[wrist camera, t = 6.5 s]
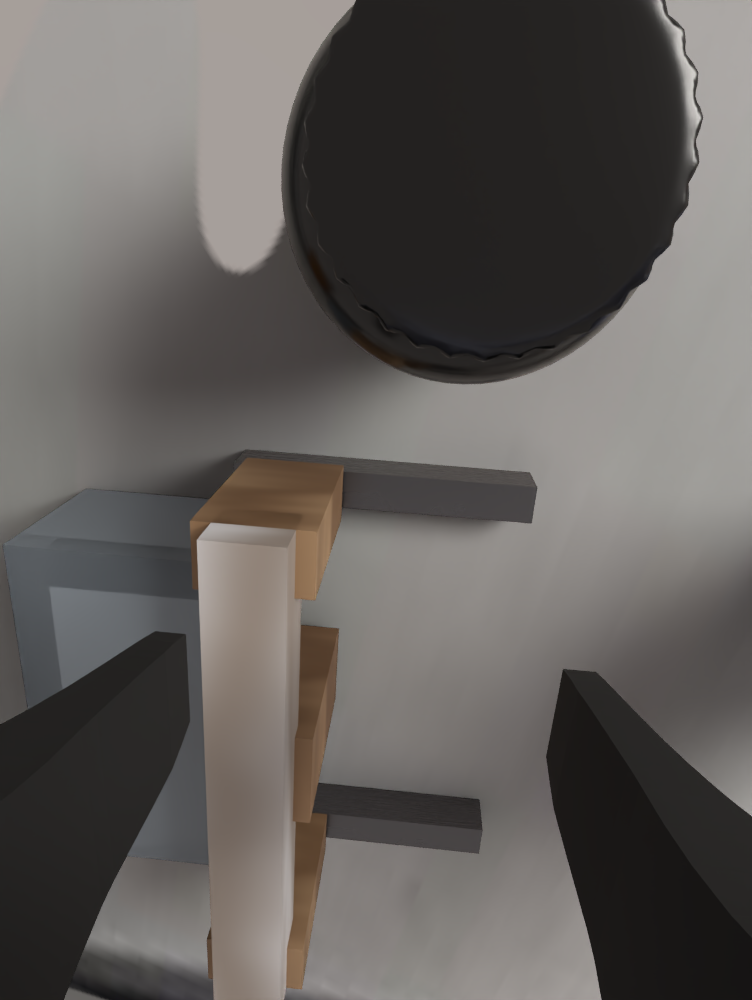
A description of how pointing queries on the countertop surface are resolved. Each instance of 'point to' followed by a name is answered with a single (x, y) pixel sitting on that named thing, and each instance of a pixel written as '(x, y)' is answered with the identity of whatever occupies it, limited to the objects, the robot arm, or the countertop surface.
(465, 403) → the countertop surface
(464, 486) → the rail frame
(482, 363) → the supplement bottle
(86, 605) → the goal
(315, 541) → the tan piece
